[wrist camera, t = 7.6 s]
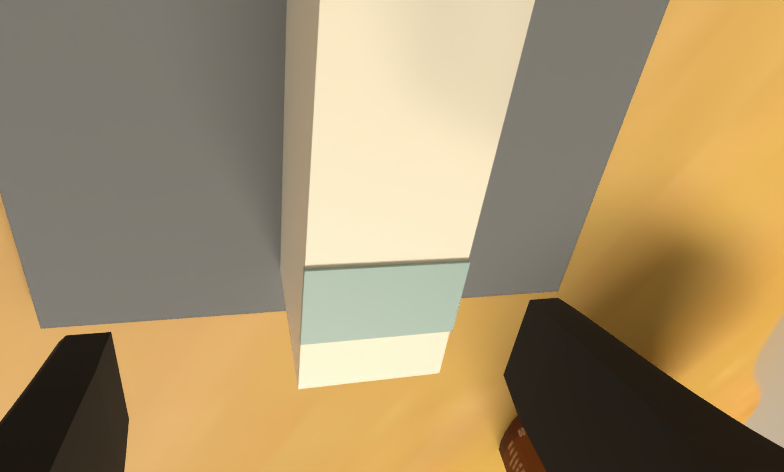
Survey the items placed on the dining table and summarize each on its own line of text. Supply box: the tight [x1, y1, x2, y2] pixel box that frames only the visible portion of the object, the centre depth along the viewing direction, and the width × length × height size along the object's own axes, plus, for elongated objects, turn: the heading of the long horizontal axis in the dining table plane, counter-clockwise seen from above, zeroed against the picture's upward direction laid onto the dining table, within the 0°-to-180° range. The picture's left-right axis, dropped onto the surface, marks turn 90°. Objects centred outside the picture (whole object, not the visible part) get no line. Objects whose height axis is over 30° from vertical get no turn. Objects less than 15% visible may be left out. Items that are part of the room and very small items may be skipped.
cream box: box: [280, 0, 535, 389], centre depth 15 cm, size 4×11×6 cm, turn 172°
